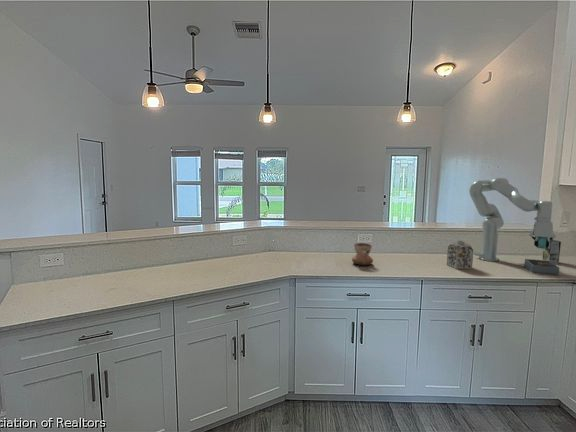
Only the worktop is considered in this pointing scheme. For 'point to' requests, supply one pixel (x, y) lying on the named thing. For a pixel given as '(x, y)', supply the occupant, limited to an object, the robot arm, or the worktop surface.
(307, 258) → the worktop surface
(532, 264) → the tote
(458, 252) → the decorative jar
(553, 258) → the coffee box
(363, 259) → the ceramic jug
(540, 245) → the teal cylinder
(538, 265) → the walnut cube
